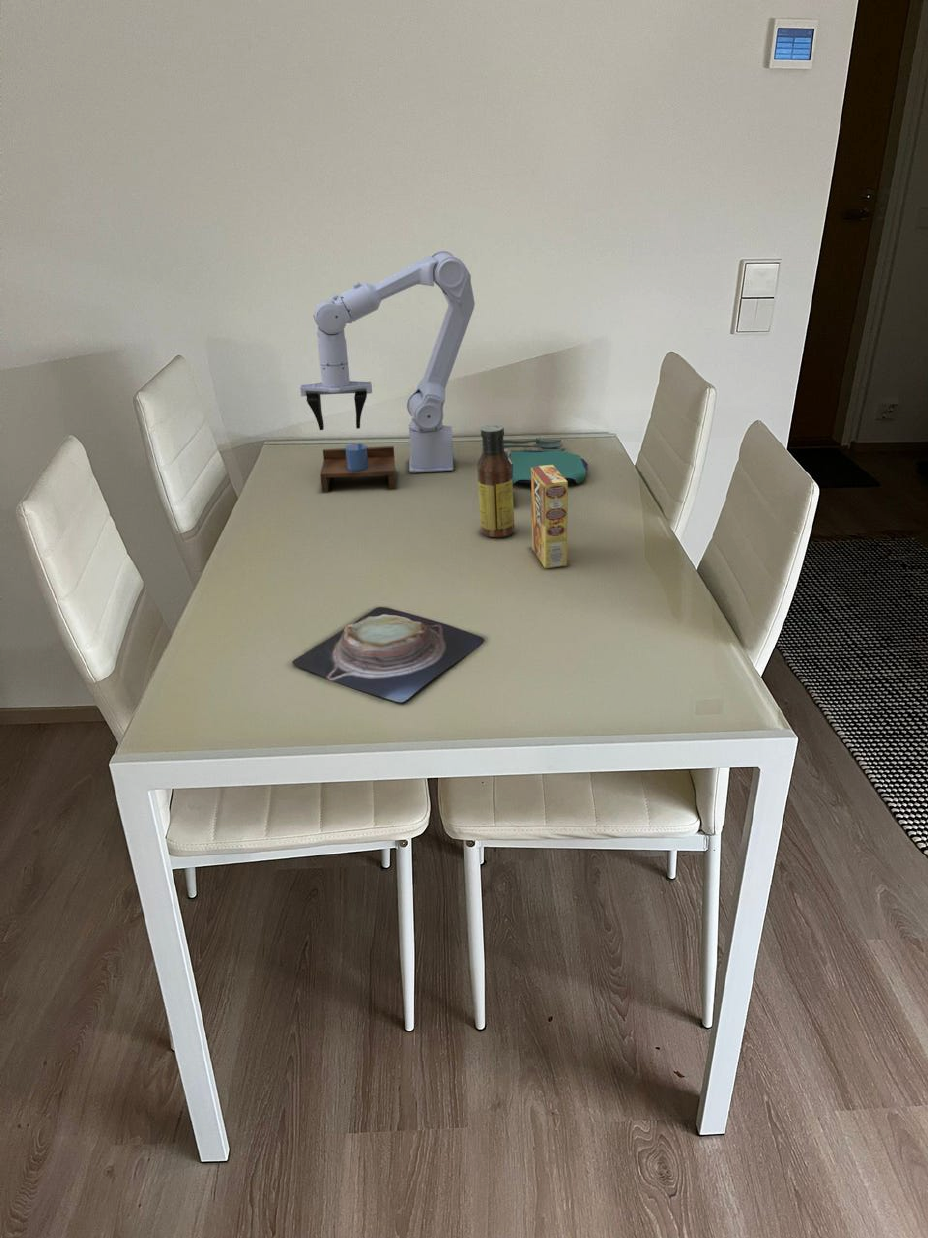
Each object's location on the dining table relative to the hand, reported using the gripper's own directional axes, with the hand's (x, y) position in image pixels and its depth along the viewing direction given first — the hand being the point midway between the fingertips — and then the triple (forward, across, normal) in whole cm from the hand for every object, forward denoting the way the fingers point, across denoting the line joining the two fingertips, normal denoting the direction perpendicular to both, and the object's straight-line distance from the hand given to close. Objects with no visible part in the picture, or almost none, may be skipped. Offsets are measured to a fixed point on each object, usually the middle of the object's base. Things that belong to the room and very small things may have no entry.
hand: (340, 427), depth 202 cm
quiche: (+11, +11, -77) cm, 79 cm away
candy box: (+11, +38, -47) cm, 61 cm away
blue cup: (+6, +4, -7) cm, 10 cm away
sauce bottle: (+11, +30, -35) cm, 47 cm away
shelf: (+10, +4, -5) cm, 12 cm away
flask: (+11, +33, -19) cm, 40 cm away
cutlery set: (+11, +42, 0) cm, 43 cm away
